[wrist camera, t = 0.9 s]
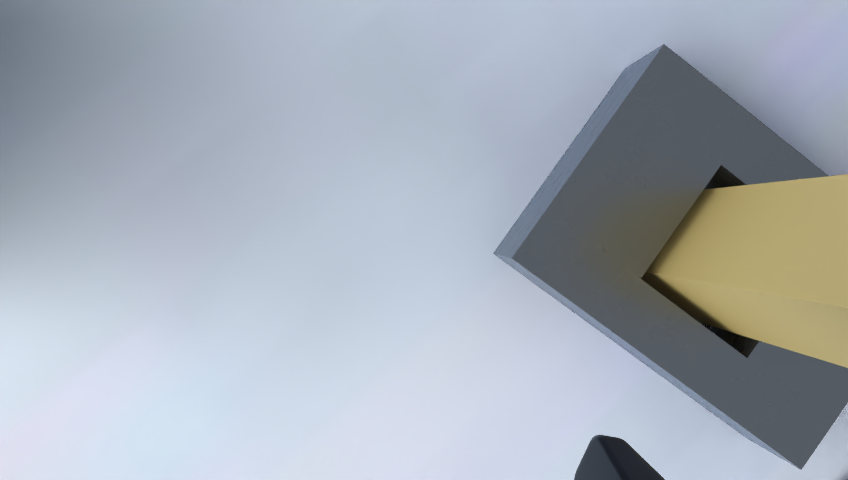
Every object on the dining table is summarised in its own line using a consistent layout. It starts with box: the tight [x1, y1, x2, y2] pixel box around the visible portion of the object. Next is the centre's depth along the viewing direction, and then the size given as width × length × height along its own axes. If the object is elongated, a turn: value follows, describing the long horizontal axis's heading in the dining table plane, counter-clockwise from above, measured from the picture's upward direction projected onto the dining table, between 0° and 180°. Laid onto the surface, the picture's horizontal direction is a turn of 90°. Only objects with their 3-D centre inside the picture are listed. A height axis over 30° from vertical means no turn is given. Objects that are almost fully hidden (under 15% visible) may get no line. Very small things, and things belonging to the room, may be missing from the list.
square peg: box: [641, 174, 848, 368], centre depth 17 cm, size 4×4×12 cm
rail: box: [493, 44, 848, 469], centre depth 21 cm, size 10×14×3 cm
